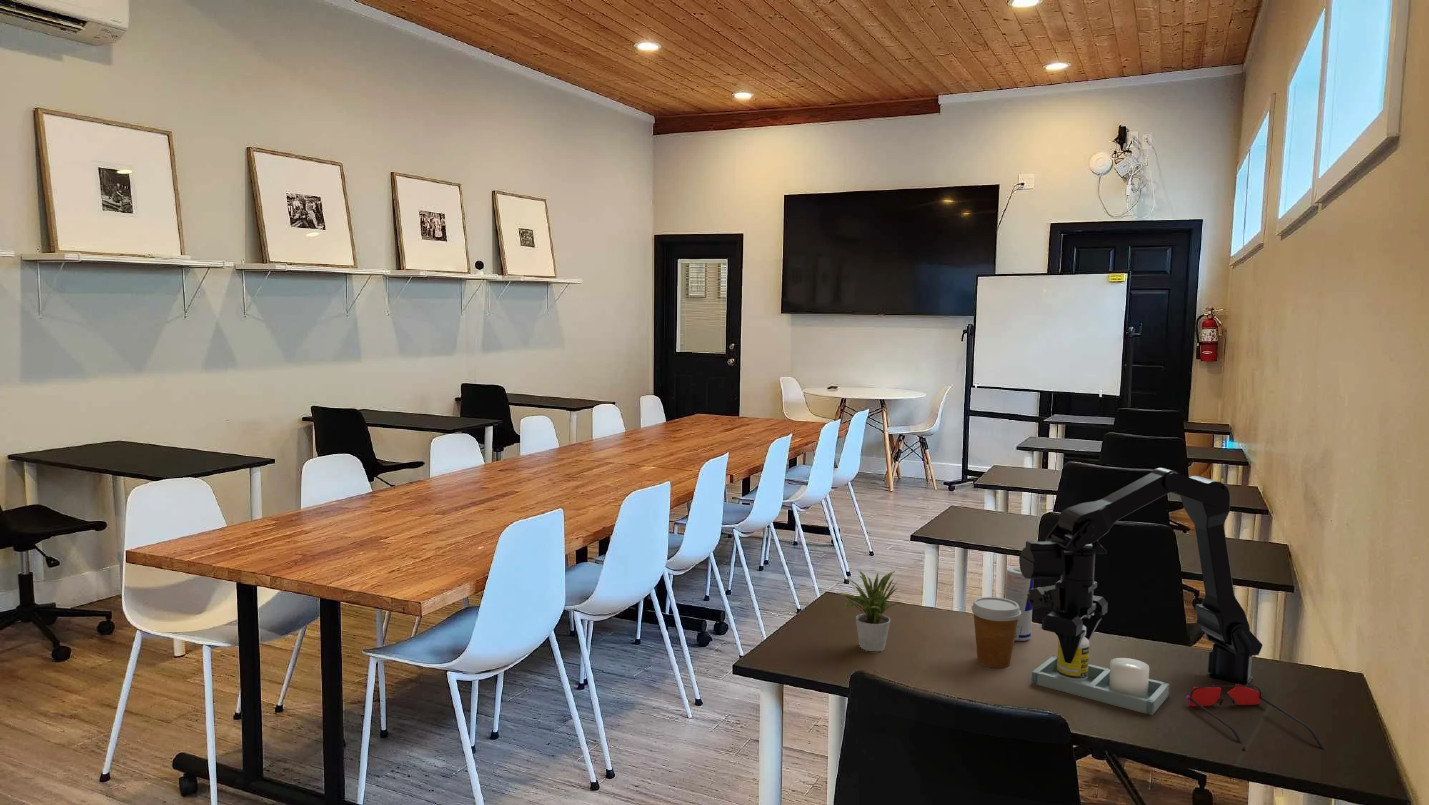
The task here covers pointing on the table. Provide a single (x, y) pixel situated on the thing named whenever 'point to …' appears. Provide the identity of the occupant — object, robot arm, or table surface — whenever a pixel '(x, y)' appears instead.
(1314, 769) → the table surface
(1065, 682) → the tray
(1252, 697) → the glasses
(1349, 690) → the table surface
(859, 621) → the house plant
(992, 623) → the disposable coffee cup
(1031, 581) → the beverage can
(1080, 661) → the supplement bottle
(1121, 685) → the white pillar candle
